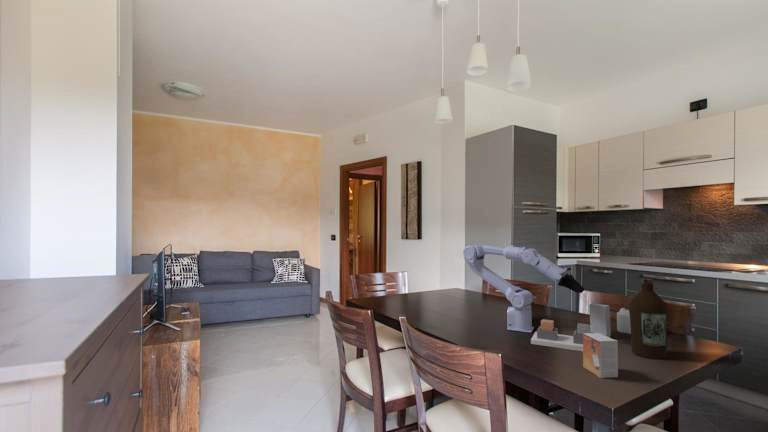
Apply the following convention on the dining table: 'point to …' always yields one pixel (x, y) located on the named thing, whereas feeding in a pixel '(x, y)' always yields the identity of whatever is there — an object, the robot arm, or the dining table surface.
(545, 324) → the button terracotta
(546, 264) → the robot arm
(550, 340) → the console
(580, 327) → the button grey
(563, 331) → the dining table surface
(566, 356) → the dining table surface
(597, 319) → the skincare box
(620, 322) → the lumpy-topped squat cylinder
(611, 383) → the dining table surface
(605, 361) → the small box
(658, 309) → the olive oil
